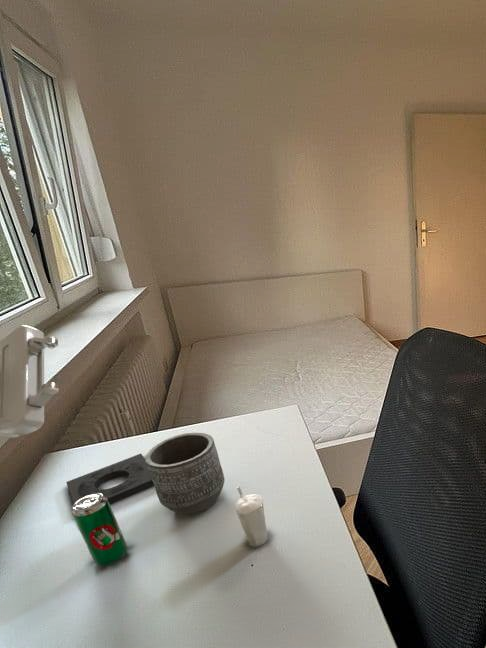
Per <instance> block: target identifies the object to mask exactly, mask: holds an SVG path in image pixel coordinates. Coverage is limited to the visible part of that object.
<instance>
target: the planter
mask: <svg viewBox="0 0 486 648" xmlns="http://www.w3.org/2000/svg"><path fill="white" fill-rule="evenodd" d="M219 457H220V456H219V453H218V450H217V446H216V444H215V440H214V437H212V435H210V434H209V433H205V432H186V433H181V434H177V435H174V436H171V437H167V439H164V440H162V441H161V442H159V443H157V444H156V445H154V446H153V447H151V448H150V449H149V450H148V452H147V453H146V454H145V457H144V458H145V461H146V464H147V467H148V471H149V473H150V476H151V479H152V481H153V484H154V486H153V487H154V490H155V493H156V495H157V498H158V501H159V503H160V504H161V506H163V507H165V508H166V509H167V510H169V511H171V512H173V513H175V514H177V515H179V516H183V517H185V516H186V517H191V516H194V515H199V514H201V513H204V512H206V511H208V510H209V509H211V508H212V507H213V506H214V505H215V504H216V503H217V502H218V500H219V498H220V496H221V493H222V491H223V488H224V485H225V480H226V479H225V475H224V472H223V468H222V465H221V461H220V458H219Z"/></svg>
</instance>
